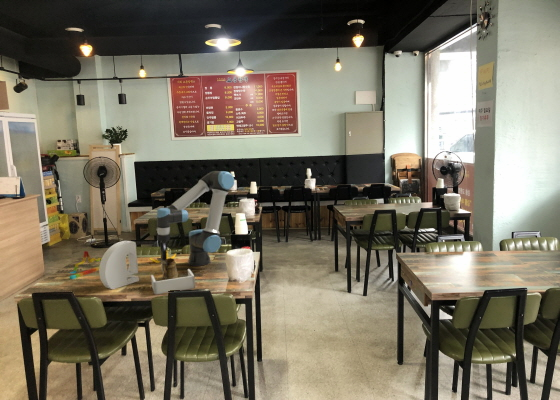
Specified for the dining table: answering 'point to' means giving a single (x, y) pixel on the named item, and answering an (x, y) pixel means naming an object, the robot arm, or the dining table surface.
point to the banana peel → (166, 258)
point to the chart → (86, 270)
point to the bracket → (119, 265)
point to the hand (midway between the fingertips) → (163, 270)
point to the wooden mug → (169, 268)
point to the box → (173, 284)
